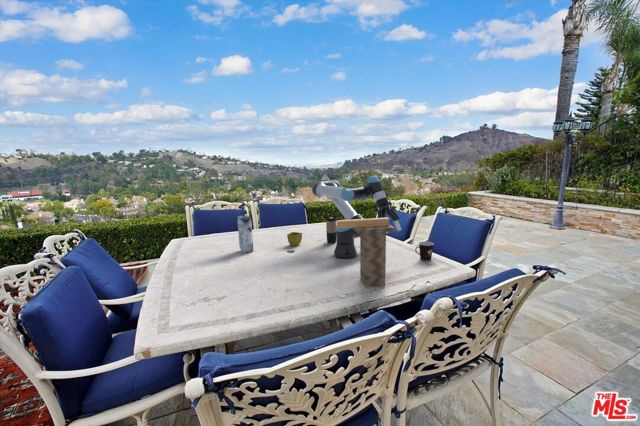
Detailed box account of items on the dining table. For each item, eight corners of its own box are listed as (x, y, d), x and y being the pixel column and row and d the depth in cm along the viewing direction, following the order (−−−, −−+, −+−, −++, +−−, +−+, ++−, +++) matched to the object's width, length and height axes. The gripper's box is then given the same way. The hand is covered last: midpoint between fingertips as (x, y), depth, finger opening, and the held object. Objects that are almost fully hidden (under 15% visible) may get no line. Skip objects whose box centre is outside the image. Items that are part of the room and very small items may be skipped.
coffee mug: (430, 256, 183) (431, 241, 181) (434, 261, 175) (435, 245, 173) (412, 256, 184) (412, 241, 183) (415, 261, 176) (415, 245, 174)
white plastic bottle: (241, 254, 199) (238, 216, 195) (239, 250, 209) (236, 213, 204) (254, 252, 203) (251, 214, 198) (251, 248, 212) (248, 212, 208)
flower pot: (303, 244, 220) (302, 232, 218) (297, 247, 212) (296, 235, 210) (293, 243, 223) (292, 231, 222) (287, 246, 215) (286, 234, 214)
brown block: (337, 228, 138) (337, 221, 137) (336, 227, 141) (336, 220, 140) (389, 225, 141) (389, 218, 141) (387, 224, 144) (387, 217, 144)
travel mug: (326, 241, 225) (325, 216, 221) (335, 240, 225) (335, 216, 222) (327, 244, 217) (326, 218, 214) (337, 243, 218) (336, 218, 214)
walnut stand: (358, 289, 140) (358, 229, 135) (352, 279, 152) (352, 224, 146) (393, 285, 142) (394, 227, 137) (384, 276, 154) (385, 222, 149)
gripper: (374, 197, 165) (388, 231, 160) (396, 196, 183) (409, 227, 178) (364, 202, 170) (377, 235, 165) (386, 201, 188) (399, 231, 183)
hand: (394, 231), depth 171 cm, fingers open, 13 cm apart
